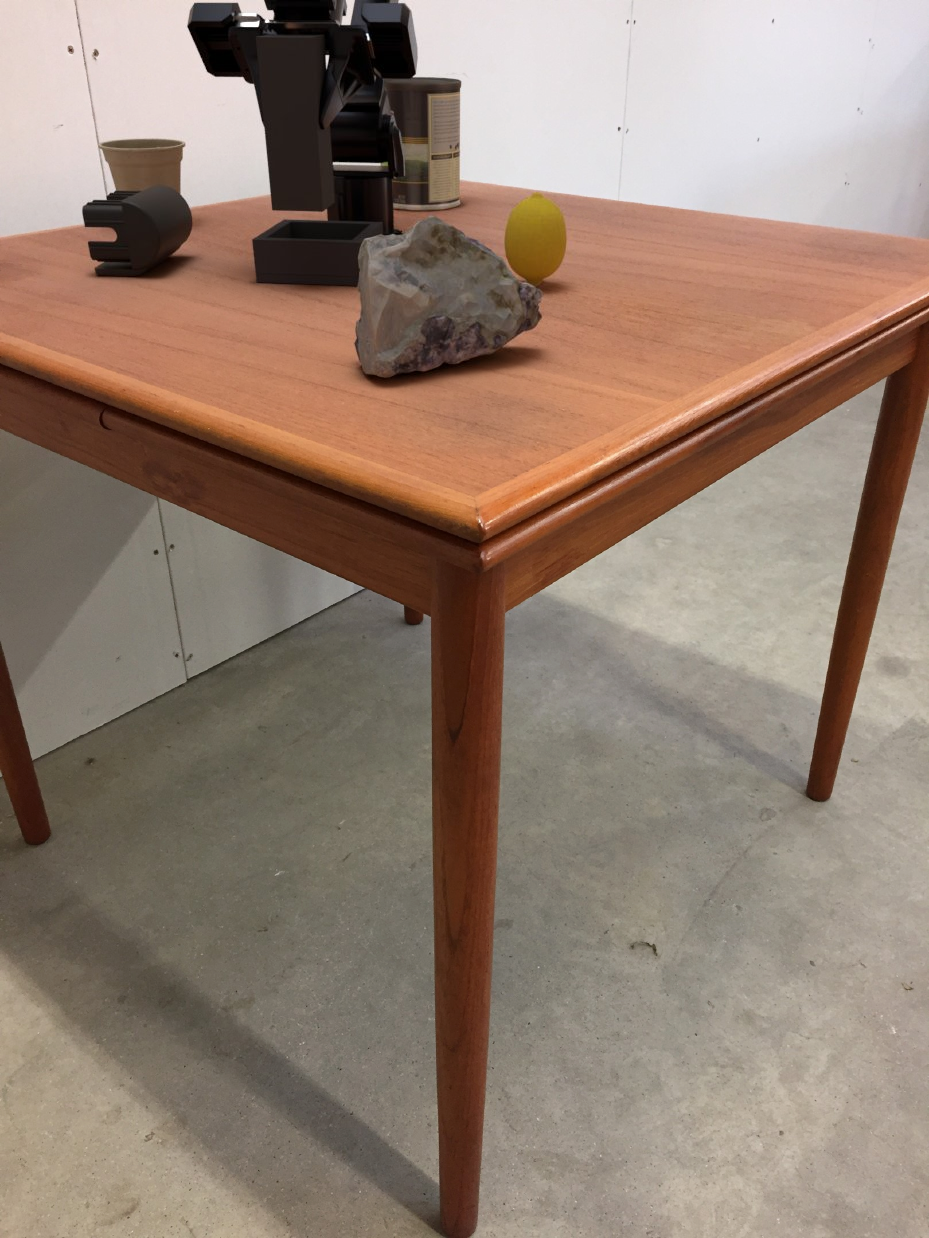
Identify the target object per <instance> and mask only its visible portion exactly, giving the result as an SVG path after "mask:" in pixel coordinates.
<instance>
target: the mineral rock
mask: <svg viewBox="0 0 929 1238" xmlns="http://www.w3.org/2000/svg"><path fill="white" fill-rule="evenodd" d="M358 263H359V269H360V273H359V282H358V286H356V287H357V289H356V290H357V291H358V292H359V301H360V315H359V319H358V320H357V321H356V322H355V328H354V331H355V337H356V339H355V341H354V343H353V344H354V348H355V352H356V355H357V358H358V361H359V363H360V364H361V368H362V371H363V372H364V373H365V375H371V376H378V377H380V378H391V377H393V376H396V375H401V374H408V373H413V372H415V371H418V372H427V371H430V370H433V369H436V368H438V367H440V366H441V365H443V364H444V363H445V364H448V365H456V364H460V363H461V362H463V361H469V360H470V359H472V358H476V357H479V356H481V357H482V356H488V355H492V354H494V353H496V352H497V351H499V349H501V348H503V347H504V346H506V345H508V344H509V342H511V341H512V340H513V339H515V338H517V337H518V336H519V335H521V334H522V333H524V332H528V331H531V330H533V329H535V328H536V327H537V326H538V325H539V323H540V321H541V320H542V319H543V315H542V314H541V312H540V311H539V310H540V305H539V304H540V303H541V302H542V298H543V296H544V292H543V291H542V289H541V288H538V287H537V286H533V285H531V284H529V283H528V282H521V281H520V280H519V279H518V278H517V277H516V276H515V275H514V274H513V273H512V271H511V270H510V269H509V268H508V266H507V263H506V261H505V259H504V258H503V257H501V256H499V255H498V254H497V253H495V252H494V251H493V250H492V249H491V248H489V247H487V246H486V245H485V244H484V243H483V242H481V241H479V240H477V239H475V238H472V237H470V236H467V235H466V233H465V232H464V231H462V230H460V229H459V228H457V227H456V226H454V225H451V224H449V223H448V224H447V223H446V222H445V221H444V220H442V219H441V218H439V217H437V216H435V215H428V217H427V218H425V219H422V220H421V219H420V220H418V221H417V222H416V223H415V224H414V225H413V226H411V228H409V229H408V230H407V231H405V233H402V235H394V234H392V235H387V236H384V235H377V236H374V237H370V238H366V239H364V240H363V242H362V244H361V247H360V251H359V256H358Z"/></svg>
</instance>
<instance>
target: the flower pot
mask: <svg viewBox="0 0 929 1238" xmlns="http://www.w3.org/2000/svg"><path fill="white" fill-rule="evenodd" d="M97 147H98V149H100V150H101V151H102V154H103V158H104V161H105V162H106V163H107V164H108V167H109V170H110V174H111V178H112V181H113V185H114V188H115V191H144V190H146V189H148V188H150V187H152V186H155V185H157V184H160V185H165V186H168V187H171V188H172V189H174V190H176V191H177V192H178V193H180V194H181V195H182V192H181V191H182V190H181V188H182V187H181V183H182V182H181V180H182V179H181V178H182V177H181V174H182V173H181V170H182V169H181V168H182V167H181V166H182V161H183V157H184V154H183V153H184V148H185V147H186V142H185V141H183V140H179V139H172V138H168V139H167V138H155V137H154V138H151V137H150V138H123V139H113V140H106V141H102V142H99V143H98V144H97Z"/></svg>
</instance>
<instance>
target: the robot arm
mask: <svg viewBox="0 0 929 1238" xmlns="http://www.w3.org/2000/svg"><path fill="white" fill-rule="evenodd" d="M399 1H400V0H354V2H353V7H352V13H351V17H350V18H351V19H350V24H342V23H343V17H347V11H348V4H347V0H263V2H264V5H265V8H266V10H267V11H272V12H273V17H272V19H265V18H263V16H262V15H260V14H259V13H256V12H242V10H241V7H240V5H239V2H194V3H193V4H192V6H191V7H190V9H189V13H188V18H187V25H186V28H187V29H188V32H189V34H190V37H191V39H192V42H193V43H194V45H195V48H196V50H197V52H198V55H199V56H200V57H199V58H200V59H201V61H202V63H203V66H204V68H205V70H206V73H208V74H210V75H211V76H213V77H215V78H243V80H244V82H246V83H247V84H250V85H253V87H254V91H255V96H256V101H257V106H258V110H259V115H260V121H261V123H262V126H263V127H264V118H263V108H262V97H261V86H260V76H259V65H258V54H257V44H256V37H257V36H264V35H271V34H281V35H324V38H325V54H326V56H328V61H327V64H326V74H325V79H324V84H323V89H322V93H321V98H320V106H319V119H318V120H319V125H320V129H321V130H325V129H326V128H327V127H328V126H329V124H330V134H331V150H332V166H333V182H334V198H335V202H334V203H333V204H332V205H331V206H329V207H328V208H327V209H326V216H327V218H326V219H327V221H359V222H382V223H383V235H384V236H387V235H392V234H394V235H403V230H400V229H397V228H395V213H394V210H395V209H393V179H395V178H396V177H404V176H405V159H404V151H403V145H402V139H401V133H400V130H399V129H398V128H397V125H396V121H395V117H394V115H392V114H391V109H390V104H389V99H388V94H387V90H386V89H385V87H384V86H385V80H386V79H411V78H412V77H415V76H416V75H417V68H418V61H419V60H418V59H419V53H418V42H417V37H416V30H415V25H414V19H413V18H414V17H413V13H412V10H411V8H410V7H409V6H408V5H407V4H406V3H405V2H399ZM384 162H388V166H381V165H369V164H381V163H384ZM334 163H350V164H334ZM363 164H365V165H363ZM367 164H368V165H367Z"/></svg>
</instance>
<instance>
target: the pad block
mask: <svg viewBox="0 0 929 1238" xmlns="http://www.w3.org/2000/svg"><path fill="white" fill-rule="evenodd" d="M256 44H257V54H258V65H259V76H260V86H261V97H262V108H263V118H264V126H263V127H264V128H263V129H264V138H265V139H264V141H265V147H266V159H267V169H268V171H267V172H268V180H269V181H268V182H269V193H270V201H271V210H272V211H274V212H275V211H281V212H319V213H322V212H325V211H326V210H327V208H328V207H329V206H331V205H332V204H333V203H334V202H335V198H334V182H333V166H332V150H331V134H330V124H329V126H328V127H327V128H326V129H325V130H321V129H320V125H319V120H318V119H319V106H320V98H321V93H322V89H323V84H324V79H325V74H326V70H327V57H326V56H327V55H326V54H325V38H324V35H281V34H271V35H264V36H257V37H256Z"/></svg>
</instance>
